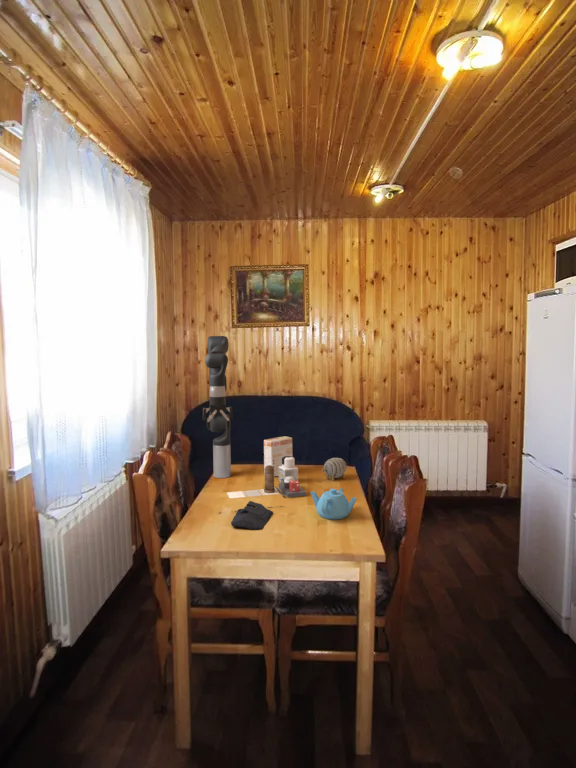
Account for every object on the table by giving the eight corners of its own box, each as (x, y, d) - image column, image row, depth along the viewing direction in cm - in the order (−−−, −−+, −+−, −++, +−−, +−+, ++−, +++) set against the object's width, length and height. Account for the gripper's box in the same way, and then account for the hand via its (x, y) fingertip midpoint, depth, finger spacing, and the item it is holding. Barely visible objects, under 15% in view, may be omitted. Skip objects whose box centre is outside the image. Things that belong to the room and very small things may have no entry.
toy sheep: (352, 477, 255) (352, 457, 254) (331, 484, 244) (331, 462, 243) (337, 473, 263) (337, 453, 262) (316, 480, 251) (316, 459, 251)
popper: (278, 488, 238) (278, 475, 237) (296, 486, 240) (296, 474, 240) (287, 497, 223) (287, 485, 222) (306, 496, 225) (306, 483, 225)
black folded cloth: (224, 529, 187) (224, 517, 186) (239, 510, 208) (239, 499, 208) (263, 532, 184) (262, 520, 184) (274, 512, 206) (274, 501, 205)
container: (278, 480, 251) (278, 456, 249) (291, 478, 254) (291, 454, 253) (284, 484, 244) (284, 459, 242) (298, 482, 247) (298, 457, 246)
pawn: (262, 490, 230) (262, 464, 229) (273, 489, 232) (273, 463, 231) (265, 493, 225) (265, 467, 224) (276, 492, 227) (276, 466, 226)
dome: (282, 483, 237) (282, 476, 237) (293, 482, 239) (293, 475, 238) (285, 487, 232) (285, 479, 231) (296, 486, 233) (296, 478, 233)
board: (222, 493, 231) (222, 490, 230) (275, 488, 238) (275, 485, 238) (228, 503, 215) (228, 501, 215) (284, 498, 222) (284, 495, 222)
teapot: (309, 510, 206) (309, 485, 205) (341, 506, 211) (341, 482, 210) (322, 523, 192) (322, 496, 191) (357, 518, 196) (357, 492, 195)
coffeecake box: (284, 470, 271) (284, 435, 270) (293, 472, 266) (293, 437, 264) (263, 475, 262) (263, 439, 260) (271, 477, 256) (271, 441, 255)
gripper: (231, 394, 237) (231, 426, 238) (201, 395, 233) (202, 428, 234) (233, 395, 229) (234, 429, 231) (203, 396, 226) (204, 431, 227)
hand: (218, 429), depth 233 cm, fingers open, 8 cm apart
